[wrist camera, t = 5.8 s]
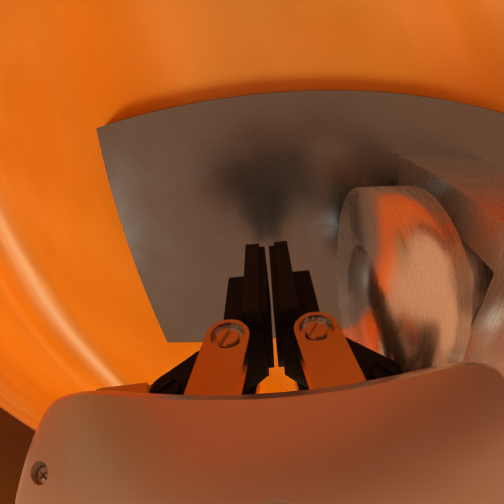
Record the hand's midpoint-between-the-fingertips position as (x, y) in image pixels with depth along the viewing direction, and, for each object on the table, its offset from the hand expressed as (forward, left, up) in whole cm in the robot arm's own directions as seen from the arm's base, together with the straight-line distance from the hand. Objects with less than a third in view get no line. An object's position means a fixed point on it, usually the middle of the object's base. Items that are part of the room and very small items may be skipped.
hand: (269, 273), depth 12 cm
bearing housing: (-6, 0, -3) cm, 7 cm away
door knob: (-11, 0, -2) cm, 11 cm away
